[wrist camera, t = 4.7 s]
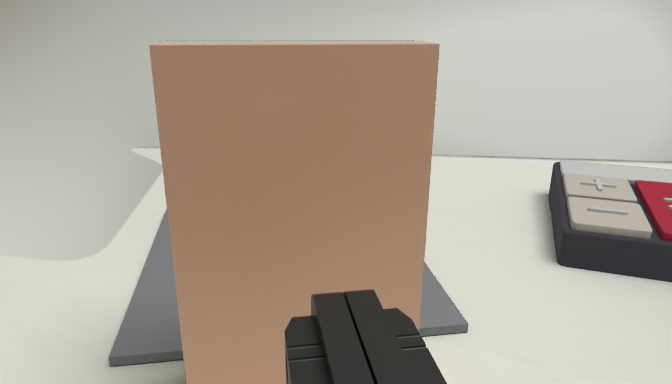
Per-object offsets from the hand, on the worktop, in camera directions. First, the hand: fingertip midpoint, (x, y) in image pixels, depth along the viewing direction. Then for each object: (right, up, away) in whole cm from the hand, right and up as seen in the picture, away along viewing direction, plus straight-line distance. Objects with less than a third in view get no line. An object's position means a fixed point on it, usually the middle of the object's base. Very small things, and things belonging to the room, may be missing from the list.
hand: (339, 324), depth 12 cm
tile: (-2, -5, +11) cm, 13 cm away
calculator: (+22, -1, +28) cm, 36 cm away
